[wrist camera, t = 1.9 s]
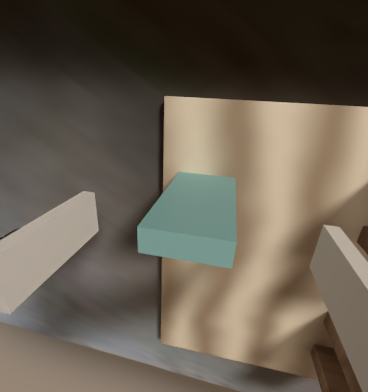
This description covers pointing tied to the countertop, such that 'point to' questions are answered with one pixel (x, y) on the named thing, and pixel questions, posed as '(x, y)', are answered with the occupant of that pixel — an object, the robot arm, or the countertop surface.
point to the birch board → (264, 224)
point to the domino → (193, 221)
